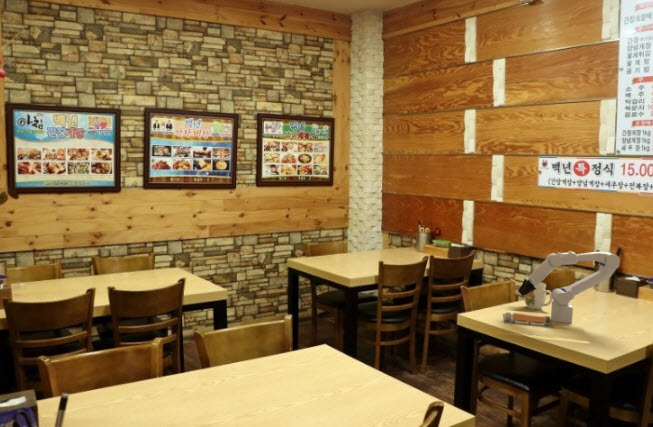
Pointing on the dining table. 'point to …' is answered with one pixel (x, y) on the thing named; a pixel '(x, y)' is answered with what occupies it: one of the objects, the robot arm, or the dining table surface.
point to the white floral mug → (537, 297)
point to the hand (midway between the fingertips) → (520, 293)
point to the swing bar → (531, 318)
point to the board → (509, 320)
